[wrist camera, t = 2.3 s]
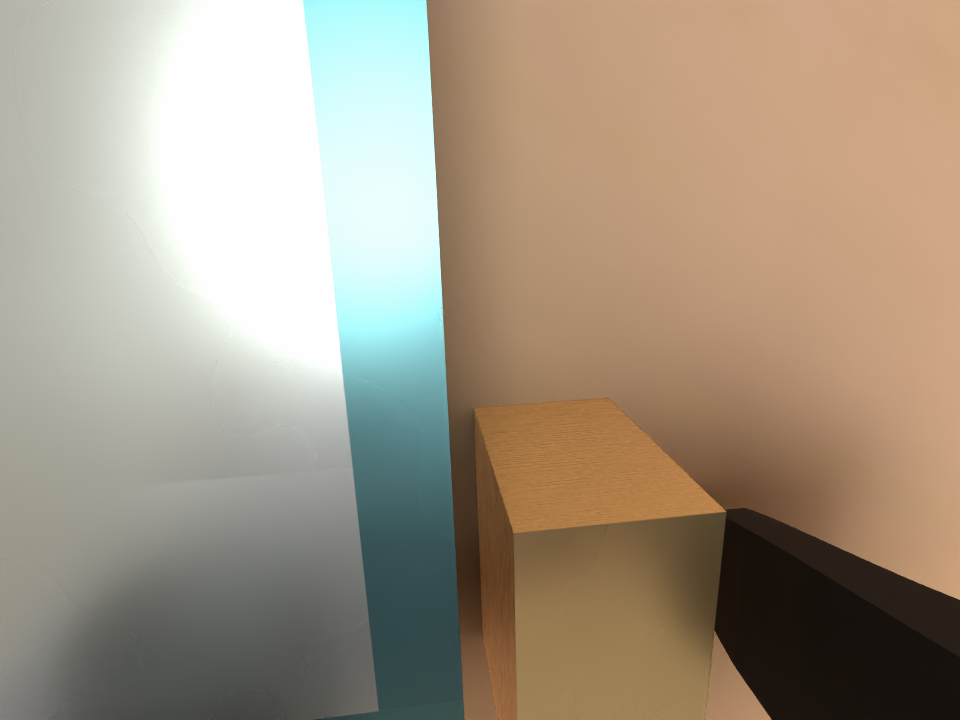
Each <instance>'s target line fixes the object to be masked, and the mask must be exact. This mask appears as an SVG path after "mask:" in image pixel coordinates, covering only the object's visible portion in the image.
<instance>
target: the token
mask: <svg viewBox="0 0 960 720" xmlns="http://www.w3.org/2000/svg"><path fill="white" fill-rule="evenodd" d="M474 421H475V446H476V472H477V498H478V524H479V549H480V575H481V601H482V627H483V641H484V646H485V652H486V658H487V664H488V670H489V676H490V682H491V688H492V694H493V700H494V705H495V711H496V717H497V720H705V716H706V706H707V696H708V686H709V677H710V667H711V657H712V647H713V637H714V628H715V618H716V608H717V598H718V588H719V579H720V569H721V559H722V549H723V540H724V530H725V520H726V511H725V510H724V509H723V508H722V507H721V506H720V505H719V504H718V503H717V502H716V501H715V500H714V499H713V498H712V497H711V496H710V495H709V494H708V493H706V492H705V491H704V490H703V489H702V488H701V487H700V486H699V485H698V484H697V483H696V482H695V481H694V480H693V479H692V478H691V477H690V476H689V475H688V474H687V473H686V472H685V471H684V470H683V469H682V468H681V467H680V466H679V465H677V464H676V463H675V462H674V461H673V460H672V459H671V458H670V457H669V456H668V455H667V454H666V453H665V452H664V451H663V450H662V449H661V448H660V447H659V446H658V445H657V444H656V443H655V442H654V441H653V440H652V439H651V438H650V437H648V436H647V435H646V434H645V433H644V432H643V431H642V430H641V429H640V428H639V427H638V426H637V425H636V424H635V423H634V422H633V421H632V420H631V419H630V418H629V417H628V416H627V415H626V414H625V413H624V412H623V411H622V410H621V409H619V408H618V407H617V406H616V405H615V404H614V403H613V402H612V401H611V400H610V399H609V398H602V399H589V400H575V401H562V402H549V403H536V404H522V405H509V406H496V407H482V408H474Z"/></svg>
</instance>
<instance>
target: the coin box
mask: <svg viewBox="0 0 960 720" xmlns="http://www.w3.org/2000/svg"><path fill="white" fill-rule="evenodd" d="M0 720H464V705H463V686H462V667H461V648H460V629H459V610H458V591H457V572H456V553H455V534H454V515H453V496H452V477H451V458H450V439H449V420H448V402H447V383H446V364H445V345H444V326H443V307H442V288H441V269H440V250H439V231H438V212H437V193H436V174H435V155H434V136H433V117H432V98H431V80H430V61H429V42H428V23H427V4H426V0H0Z"/></svg>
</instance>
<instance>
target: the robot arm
mask: <svg viewBox="0 0 960 720" xmlns="http://www.w3.org/2000/svg"><path fill="white" fill-rule="evenodd" d="M725 511H726V520H725V530H724V540H723V549H722V559H721V569H720V579H719V588H718V598H717V608H716V618H715V628H714V630H715V632H716V634H717V636H718V638H719V639H720V641H721V643H722V645H723V647H724V648H725V650H726V652H727V654H728V655H729V657H730V659H731V661H732V663H733V664H734V666H735V667H736V669H737V670H738V672H739V673H740V675H741V676H742V678H743V679H744V681H745V682H746V683H747V685H748V686H749V688H750V689H751V691H752V692H753V693H754V695H755V696H756V698H757V699H758V701H759V702H760V703H761V705H762V706H763V708H764V709H765V711H766V712H767V713H768V715H769V716H770V718H771V719H772V720H960V600H958V599H956V598H953V597H951V596H948V595H946V594H944V593H941V592H939V591H936V590H934V589H931V588H929V587H926V586H924V585H921V584H919V583H917V582H914V581H912V580H910V579H907V578H905V577H903V576H900V575H898V574H896V573H893V572H891V571H889V570H887V569H884V568H882V567H880V566H878V565H875V564H873V563H871V562H869V561H866V560H864V559H862V558H860V557H857V556H855V555H853V554H851V553H849V552H846V551H844V550H842V549H840V548H838V547H835V546H833V545H831V544H829V543H827V542H824V541H822V540H820V539H818V538H816V537H813V536H811V535H809V534H807V533H805V532H802V531H800V530H798V529H796V528H793V527H791V526H789V525H787V524H784V523H782V522H780V521H777V520H775V519H773V518H770V517H768V516H765V515H763V514H760V513H758V512H755V511H752V510H749V509H746V508H739V509H730V510H725Z"/></svg>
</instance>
